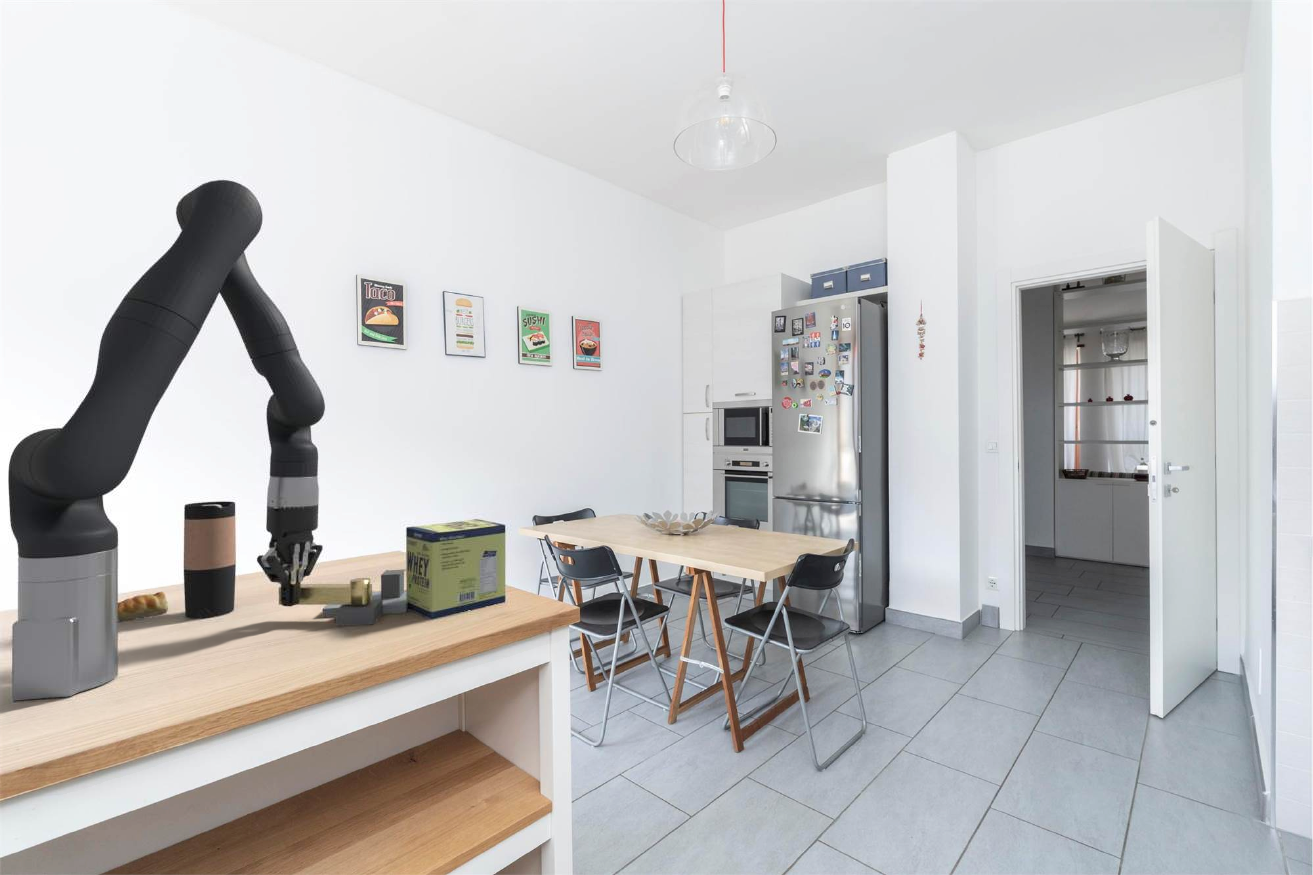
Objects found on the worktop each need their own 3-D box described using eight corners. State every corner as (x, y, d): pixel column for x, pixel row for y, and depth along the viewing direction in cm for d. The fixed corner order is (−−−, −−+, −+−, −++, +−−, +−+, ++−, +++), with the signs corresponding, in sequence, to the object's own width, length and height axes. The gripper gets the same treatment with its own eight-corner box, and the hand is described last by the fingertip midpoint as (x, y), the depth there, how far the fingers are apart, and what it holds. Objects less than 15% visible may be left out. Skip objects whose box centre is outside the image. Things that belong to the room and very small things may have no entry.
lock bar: (373, 600, 106) (373, 572, 106) (364, 605, 103) (364, 576, 103) (288, 600, 106) (288, 572, 106) (277, 605, 103) (277, 576, 103)
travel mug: (190, 609, 110) (190, 502, 110) (239, 605, 113) (240, 500, 114) (177, 621, 103) (177, 506, 103) (230, 615, 107) (230, 504, 107)
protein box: (404, 609, 111) (404, 526, 111) (478, 593, 123) (479, 518, 123) (430, 621, 104) (431, 532, 104) (507, 603, 116) (507, 523, 116)
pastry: (102, 627, 101) (102, 604, 101) (93, 620, 105) (93, 598, 105) (171, 614, 108) (171, 593, 108) (161, 608, 112) (161, 588, 112)
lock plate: (398, 622, 103) (398, 587, 103) (310, 627, 100) (310, 592, 100) (417, 596, 119) (417, 566, 119) (342, 600, 117) (342, 570, 117)
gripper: (300, 499, 108) (297, 595, 108) (241, 505, 95) (238, 614, 95) (338, 500, 107) (336, 596, 107) (284, 507, 94) (281, 616, 94)
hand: (290, 605), depth 101 cm, fingers closed
